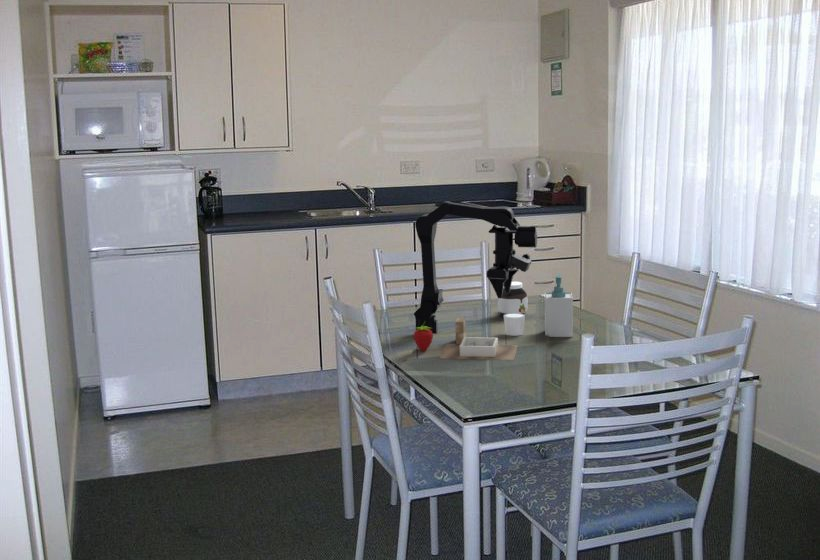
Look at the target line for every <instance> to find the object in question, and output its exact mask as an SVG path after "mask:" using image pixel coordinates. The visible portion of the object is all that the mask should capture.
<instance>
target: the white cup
mask: <svg viewBox="0 0 820 560" xmlns="http://www.w3.org/2000/svg"><path fill="white" fill-rule="evenodd" d="M525 316H526V315H525V314H520V313H509V314H505V315H504V316H503V323H504V331H505V335H506V336H513V337H514V336H523V335H524V332H525V320H526V319H525Z"/></svg>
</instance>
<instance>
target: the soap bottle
mask: <svg viewBox="0 0 820 560" xmlns="http://www.w3.org/2000/svg"><path fill="white" fill-rule="evenodd" d="M555 284H556V286H553V290H552V291H551V292H548V291H547V292H544V334H545V335H544V336H549V338H573V337H574V336H573V335H574V331H573V330H574V326H573V325H574V324H573V323H574V322H573V321H574V320H573V319H574V316H573V315H574V305H573V304H574V298H573V293H572V292H571V291H570V292H569V291H568V292H567V291H566V290H564V287H563V286H562V285H561V284H562V275H561V274H560V273H557V274H555Z"/></svg>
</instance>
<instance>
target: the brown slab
mask: <svg viewBox="0 0 820 560" xmlns="http://www.w3.org/2000/svg"><path fill="white" fill-rule="evenodd" d="M460 345H461V344H456V343H446V344H445V347H444V348H443V350H442V352H441V354H440V356H439V359H446V360H447V359H448V360H449V359H450V360H484V361H485V360H487V361H488V360H489V361H490V360H491V361H492V360H496V361H502V360H503V361H515V357H516V353H517V349H518V344H498V349H497V352H496V355H495V357H480V356H460Z"/></svg>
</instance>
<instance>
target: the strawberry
mask: <svg viewBox="0 0 820 560" xmlns="http://www.w3.org/2000/svg"><path fill="white" fill-rule="evenodd" d="M425 322H426V321H425ZM425 322H424V323H425ZM426 327H427V326H423V325H422V326H421V327H416V326H415V328H414V329H415V331H414V332H413V339H414V343H415V345H416V346H417V348H418V349H419V351H421V352H425V351H426V352H427V350H428V348H429V347H430V346H431V343H432V342H433V337H434V334H433V333H432V331H431V330H430V329H432V328H430V327H427V328H426ZM416 329H418V330H416Z"/></svg>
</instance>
